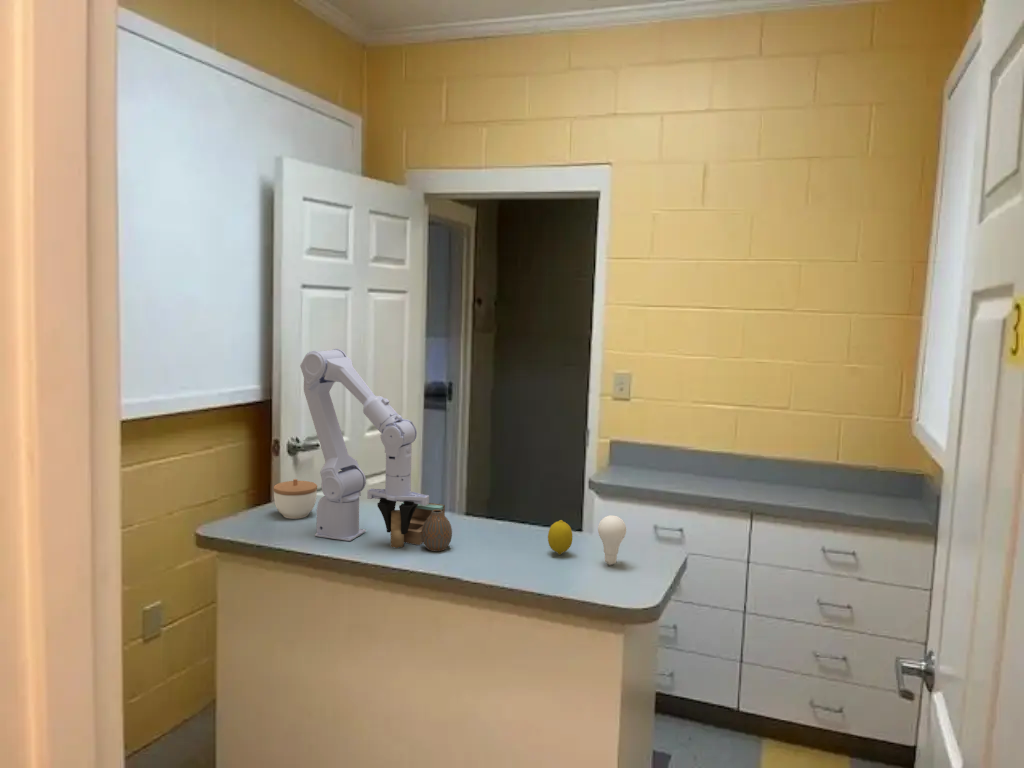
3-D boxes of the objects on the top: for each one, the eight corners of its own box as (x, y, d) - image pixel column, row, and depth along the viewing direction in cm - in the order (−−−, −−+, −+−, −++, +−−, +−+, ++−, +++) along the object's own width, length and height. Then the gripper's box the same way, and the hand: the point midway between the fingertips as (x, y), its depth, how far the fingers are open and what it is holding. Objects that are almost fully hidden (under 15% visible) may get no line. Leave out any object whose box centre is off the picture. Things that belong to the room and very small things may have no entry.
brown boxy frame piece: (386, 540, 181) (386, 511, 180) (406, 526, 191) (407, 500, 190) (425, 545, 178) (426, 517, 177) (444, 532, 188) (444, 504, 187)
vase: (446, 554, 172) (447, 516, 171) (417, 551, 174) (417, 513, 173) (455, 544, 179) (456, 508, 178) (426, 542, 180) (427, 505, 179)
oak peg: (388, 546, 176) (388, 512, 175) (394, 542, 179) (394, 509, 178) (400, 548, 175) (400, 514, 174) (406, 544, 178) (406, 510, 177)
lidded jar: (325, 512, 201) (325, 477, 200) (300, 523, 191) (300, 486, 190) (291, 507, 204) (291, 472, 203) (264, 517, 195) (264, 481, 193)
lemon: (574, 552, 177) (575, 518, 176) (568, 560, 171) (569, 525, 170) (551, 549, 178) (552, 515, 177) (544, 556, 173) (545, 521, 172)
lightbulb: (617, 571, 165) (619, 521, 164) (591, 565, 168) (593, 516, 167) (628, 563, 170) (631, 515, 169) (603, 557, 174) (606, 510, 172)
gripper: (361, 474, 173) (360, 533, 175) (420, 481, 169) (419, 541, 171) (375, 467, 180) (375, 524, 182) (433, 474, 176) (432, 532, 177)
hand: (397, 532), depth 177 cm, fingers closed on oak peg, 3 cm apart
